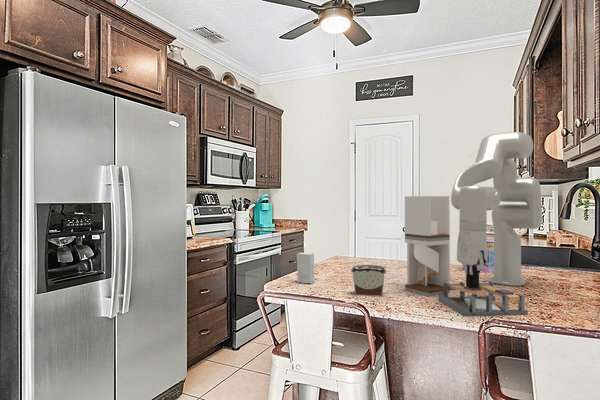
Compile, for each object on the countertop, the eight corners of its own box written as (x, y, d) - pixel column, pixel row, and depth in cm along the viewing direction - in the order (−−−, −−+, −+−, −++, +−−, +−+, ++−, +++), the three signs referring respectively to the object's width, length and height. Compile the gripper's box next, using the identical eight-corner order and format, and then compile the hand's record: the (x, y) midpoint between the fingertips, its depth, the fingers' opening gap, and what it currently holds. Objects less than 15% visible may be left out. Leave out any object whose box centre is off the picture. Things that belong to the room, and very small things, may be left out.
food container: (386, 292, 141) (386, 265, 141) (386, 296, 135) (386, 267, 135) (352, 290, 144) (352, 263, 144) (351, 294, 138) (350, 266, 138)
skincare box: (315, 282, 159) (314, 252, 158) (310, 284, 155) (310, 254, 154) (301, 281, 161) (301, 252, 161) (296, 283, 157) (296, 253, 157)
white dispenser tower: (405, 290, 145) (404, 196, 144) (425, 286, 150) (424, 196, 150) (429, 296, 135) (429, 196, 135) (449, 292, 140) (449, 196, 140)
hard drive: (464, 297, 129) (471, 307, 117) (490, 299, 127) (501, 309, 115) (464, 302, 129) (472, 313, 117) (490, 304, 127) (501, 315, 115)
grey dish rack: (437, 299, 130) (437, 282, 130) (492, 298, 132) (492, 281, 132) (465, 316, 112) (464, 296, 112) (527, 314, 114) (527, 294, 114)
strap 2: (474, 288, 132) (474, 282, 132) (487, 288, 132) (487, 282, 132) (507, 302, 114) (507, 294, 114) (521, 302, 114) (521, 294, 114)
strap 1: (446, 289, 131) (446, 283, 131) (458, 289, 131) (458, 283, 131) (474, 296, 113) (473, 289, 113) (488, 296, 113) (488, 288, 113)
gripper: (449, 225, 125) (448, 282, 124) (474, 228, 110) (473, 293, 109) (471, 225, 125) (471, 282, 125) (499, 228, 110) (499, 293, 110)
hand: (472, 287), depth 117 cm, fingers closed
